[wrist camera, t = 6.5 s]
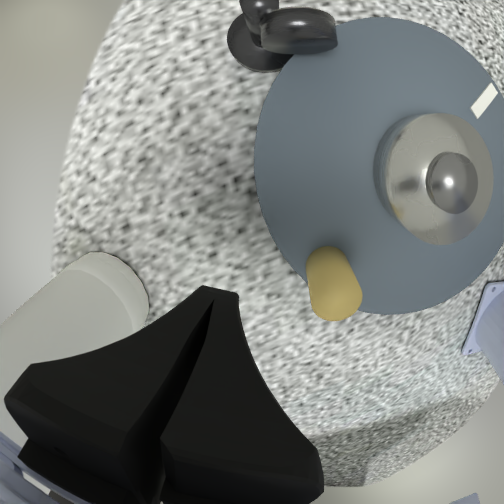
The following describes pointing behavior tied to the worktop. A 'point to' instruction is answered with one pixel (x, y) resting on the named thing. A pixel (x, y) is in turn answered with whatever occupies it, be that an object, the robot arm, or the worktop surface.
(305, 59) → the turntable
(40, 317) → the bottle
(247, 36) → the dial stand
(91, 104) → the worktop surface
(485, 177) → the cover
